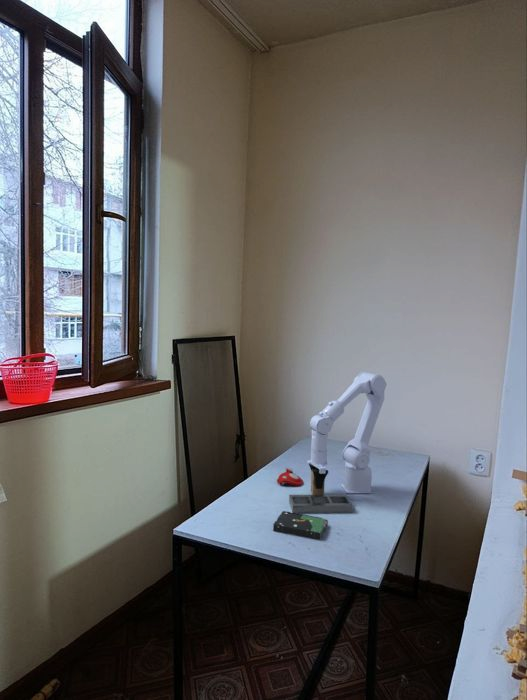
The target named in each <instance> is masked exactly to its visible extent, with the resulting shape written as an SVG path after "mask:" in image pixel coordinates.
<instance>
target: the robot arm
mask: <svg viewBox="0 0 527 700" xmlns="http://www.w3.org/2000/svg"><path fill="white" fill-rule="evenodd" d="M386 388H387V382H386V380H385V377H384V376H382V375H381V374H377V373H376V374H375V373H372V372H368V371H363V370H362V371H360V372H359V374H358V375H357V376H356V377H354V379H353V382H352V384H350V385H349V386H348V388H347V389H346V390H345V391H344V392H343V393H342V395H341V396H340V397H339V398H338V399H337V400H331V401H329V402H328V403H327V406H326V407H325V408H324V409H322V411H320V412H318V414H315V415H314V416H312V417H311V419H310V421H309V422H308V427H309V429H310V430H311V441H310V442H311V443H310V444H311V445H310V446H311V447H310V459H309V460H308V459H307V460H306V462H307V465H308V466H309V469H310V472H311V473H312V472H313V474H314V478H315V487H316V489H322V487H323V483H324V484H325V482H324V480H325V481H326V478H327V476H328V475H329V470H328V469H326V468H327V465H328V441H329V432H331V431H332V428H333V425H334V423H335V422H336V421H337V420H338V419H339V418H340V417H341V416H342V415H343V414H344V412H345V407H346V406H348V405H349V404H350V403H351V402H352V401H353V400H354V399H355V398H357V397H358V396H359V395H360V394H365V396H366V397H367V400H366V401H367V402H366V405H365V406H364V410H363V412H362V415H361V417H360V421H359V423H358V427H357V429H356V432H355V435H354V438H352V439H351V440H349V441H348V442H347V444H346V446H345V448H344V449H343V450H342V454H341V457H342V460H343V461H344V464H345V465H344V467H345V468H344V470H345V471H344V483H341V484H340V485H341V488H342V489H343V490H344V492H345V493H346V494H372V479H373V478H372V476H373V475H372V473H373V472H372V468H371V467H370V462H371V461H370V459H371V452H372V450H371V448H370V446H369V443H370V440H371V437H372V435H373V431H374V429H375V426H376V423H377V420H378V417H379V415H380V412H381V409H382V407H383V404H384V401H385V390H386Z"/></svg>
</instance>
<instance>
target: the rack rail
mask: <svg viewBox="0 0 527 700" xmlns="http://www.w3.org/2000/svg"><path fill="white" fill-rule="evenodd" d="M288 504H289V506H290V510H291V512H292V513H298V514H337V513H338V514H339V513H341V514H343V513H344V514H347V513H350V514H351V513H353V511H354V510H353V507H354V506H353V503H352V501H350V499H349V498H348V495H347V494H324V495H313V494H288Z"/></svg>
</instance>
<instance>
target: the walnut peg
mask: <svg viewBox="0 0 527 700" xmlns="http://www.w3.org/2000/svg"><path fill="white" fill-rule="evenodd" d="M325 481H326V479H325V480H324V483H323V487H322V489H316V487H315V478H314V474H313V472H311V478H310V492H311V495H325Z"/></svg>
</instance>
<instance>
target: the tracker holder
mask: <svg viewBox="0 0 527 700" xmlns="http://www.w3.org/2000/svg"><path fill="white" fill-rule="evenodd" d="M285 469H286V470H285V472H282V473H281V474H279V475H278V478H277V480H276V482H277V483H278V484H279V485H282V484H283V483H286V484H289V485H291V486H294V487H301V486H303V483H304V480H303V479H302V478H301V477H300V476H299V475H297V474H295V473H294V471H293V469H291V468H288V467H285Z"/></svg>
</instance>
